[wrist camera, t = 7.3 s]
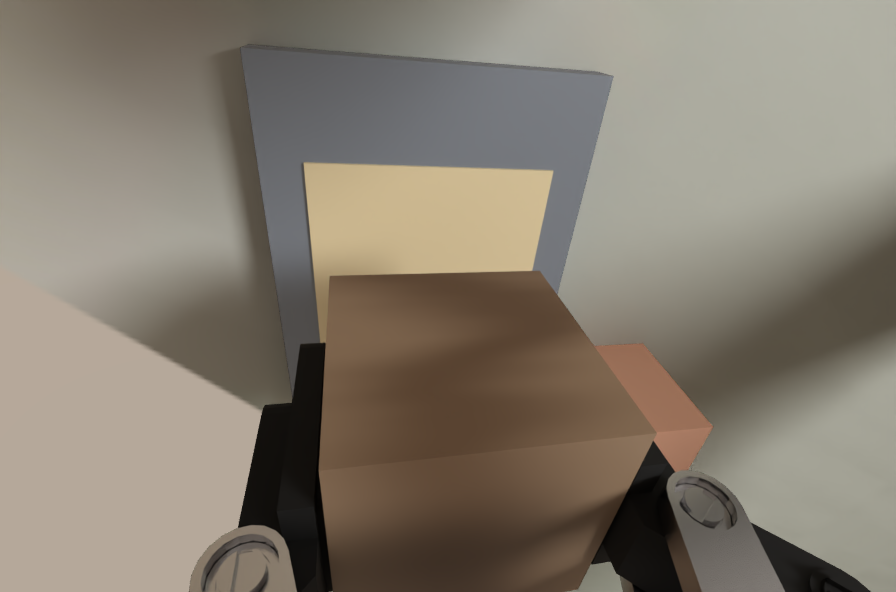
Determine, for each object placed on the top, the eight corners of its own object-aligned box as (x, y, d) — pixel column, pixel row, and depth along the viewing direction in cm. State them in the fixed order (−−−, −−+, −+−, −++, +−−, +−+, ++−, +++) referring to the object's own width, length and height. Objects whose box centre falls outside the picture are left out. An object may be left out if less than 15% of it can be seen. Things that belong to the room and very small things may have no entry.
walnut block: (539, 270, 11) (657, 433, 7) (507, 411, 14) (577, 589, 9) (329, 275, 10) (318, 471, 6) (340, 427, 13) (338, 633, 8)
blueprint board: (598, 71, 13) (615, 76, 13) (523, 383, 20) (530, 400, 20) (248, 44, 12) (238, 47, 11) (297, 397, 19) (295, 417, 18)
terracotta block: (641, 342, 21) (713, 427, 16) (612, 416, 23) (667, 505, 19) (540, 347, 20) (589, 438, 16) (521, 424, 22) (559, 519, 18)
